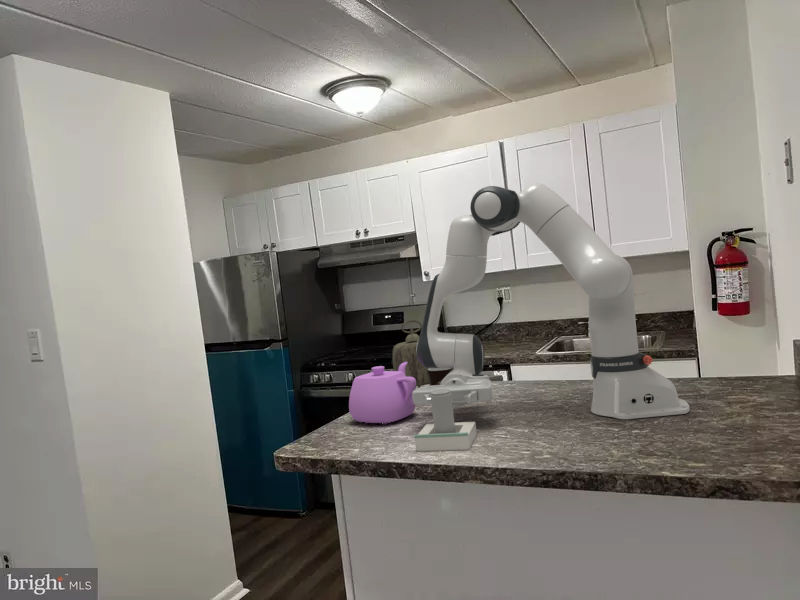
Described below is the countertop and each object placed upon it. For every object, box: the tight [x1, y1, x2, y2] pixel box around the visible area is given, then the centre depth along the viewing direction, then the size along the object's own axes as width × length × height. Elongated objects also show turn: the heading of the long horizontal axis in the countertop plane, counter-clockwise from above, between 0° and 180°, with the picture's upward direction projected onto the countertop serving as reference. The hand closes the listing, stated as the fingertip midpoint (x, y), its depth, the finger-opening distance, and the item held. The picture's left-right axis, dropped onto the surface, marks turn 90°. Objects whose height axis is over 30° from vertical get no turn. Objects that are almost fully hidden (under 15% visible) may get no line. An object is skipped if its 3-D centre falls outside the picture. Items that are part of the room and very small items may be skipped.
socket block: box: [414, 421, 478, 452], centre depth 134 cm, size 12×12×4 cm
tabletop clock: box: [391, 319, 431, 388], centre depth 193 cm, size 14×9×25 cm, turn 98°
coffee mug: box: [428, 367, 454, 386], centre depth 181 cm, size 12×9×10 cm
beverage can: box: [430, 389, 456, 434], centre depth 134 cm, size 5×5×12 cm
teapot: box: [348, 362, 417, 425], centre depth 166 cm, size 23×21×15 cm
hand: (447, 400), depth 139 cm, fingers open, 8 cm apart
